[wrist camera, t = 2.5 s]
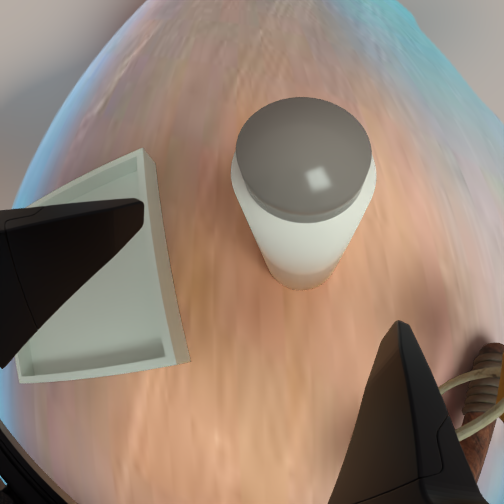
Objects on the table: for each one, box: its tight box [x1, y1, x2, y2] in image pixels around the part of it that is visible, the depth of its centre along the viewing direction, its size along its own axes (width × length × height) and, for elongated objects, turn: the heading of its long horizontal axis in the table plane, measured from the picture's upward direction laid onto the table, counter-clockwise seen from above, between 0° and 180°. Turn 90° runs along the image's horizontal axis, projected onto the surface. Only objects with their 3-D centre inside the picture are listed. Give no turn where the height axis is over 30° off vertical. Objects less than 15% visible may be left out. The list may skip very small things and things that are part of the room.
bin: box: [15, 148, 191, 384], centre depth 21 cm, size 16×16×2 cm
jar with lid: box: [231, 97, 376, 291], centre depth 14 cm, size 5×5×12 cm
